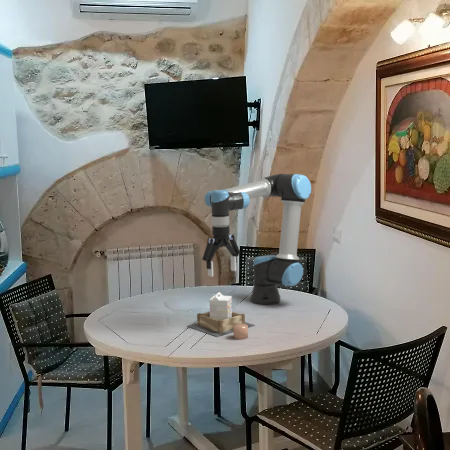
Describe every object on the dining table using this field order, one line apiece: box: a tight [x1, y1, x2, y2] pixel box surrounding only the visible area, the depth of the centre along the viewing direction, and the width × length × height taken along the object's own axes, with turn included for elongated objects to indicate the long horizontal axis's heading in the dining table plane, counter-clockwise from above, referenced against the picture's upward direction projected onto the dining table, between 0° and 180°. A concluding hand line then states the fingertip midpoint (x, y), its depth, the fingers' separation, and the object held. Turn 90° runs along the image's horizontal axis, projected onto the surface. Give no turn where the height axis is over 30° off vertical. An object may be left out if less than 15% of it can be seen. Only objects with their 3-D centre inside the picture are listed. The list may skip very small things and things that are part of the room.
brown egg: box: [232, 324, 249, 340], centre depth 252 cm, size 6×6×5 cm
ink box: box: [208, 291, 233, 320], centre depth 266 cm, size 9×8×13 cm
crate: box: [186, 311, 256, 338], centre depth 267 cm, size 22×20×6 cm
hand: (222, 273), depth 267 cm, fingers open, 13 cm apart
